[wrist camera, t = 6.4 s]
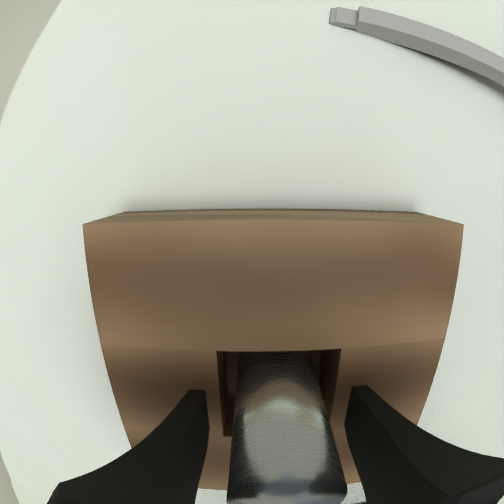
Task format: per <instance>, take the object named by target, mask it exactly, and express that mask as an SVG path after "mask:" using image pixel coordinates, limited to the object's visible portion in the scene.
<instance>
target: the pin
mask: <svg viewBox="0 0 504 504" xmlns="http://www.w3.org/2000/svg"><path fill="white" fill-rule="evenodd" d="M346 494H347V484H346V481H345V477H344V473H343V469H342V465H341V462H340V458H339V454H338V451H337V447H336V443H335V440H334V436H333V433H332V429H331V425H330V422H329V418H328V415H327V411H326V408H325V404H324V401H323V397H322V394H321V390H320V387H319V383H318V380H317V376H316V373H315V370H314V366H313V363H312V359H311V356H310V353H309V350H304V351H240V355H239V364H238V375H237V386H236V397H235V408H234V420H233V431H232V443H231V454H230V465H229V477H228V489H227V504H340V503H341V502H342V501H343V500H344V498H345V497H346Z"/></svg>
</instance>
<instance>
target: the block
mask: <svg viewBox="0 0 504 504" xmlns="http://www.w3.org/2000/svg"><path fill="white" fill-rule="evenodd" d="M463 226H464V224H460V223H457V222H453V221H449V220H445V219H441V218H438V217H434V216H430V215H426V214H422V213H418V212H399V211H373V210H337V209H201V210H165V211H138V212H123V213H120V214H116V215H113V216H109V217H106V218H102V219H99V220H95V221H92V222H89V223H85V224H83V234H84V245H85V254H86V262H87V270H88V277H89V284H90V291H91V297H92V303H93V308H94V314H95V319H96V324H97V329H98V334H99V338H100V343H101V347H102V352H103V356H104V360H105V364H106V368H107V372H108V376H109V379H110V383H111V387H112V390H113V393H114V397H115V400H116V404H117V407H118V410H119V413H120V416H121V419H122V422H123V425H124V428H125V431H126V434H127V437H128V440H129V442H130V445H131V448H133V447H134V446H136V445H137V444H138V443H139V442H141V441H142V440H143V439H144V438H145V437H146V436H148V435H149V434H150V433H151V432H152V431H153V430H154V429H155V428H156V427H157V426H158V425H159V424H160V423H161V422H162V421H163V420H164V419H165V418H166V416H167V415H168V414H169V413H170V412H171V411H172V410H173V409H174V407H175V406H176V405H177V404H178V403H179V401H180V400H181V399H182V397H183V396H184V395H185V393H186V392H187V391H188V390H189V389H193V390H205V391H206V400H207V409H208V417H209V425H210V430H209V440H208V449H207V453H206V457H205V461H204V465H203V469H202V473H201V477H200V481H199V485H198V488H202V489H216V490H227V489H228V477H229V465H230V454H231V443H232V431H233V420H234V408H235V397H236V386H237V375H238V364H239V355H240V351H304V350H309V353H310V356H311V359H312V363H313V366H314V370H315V373H316V376H317V380H318V383H319V387H320V390H321V394H322V397H323V401H324V404H325V408H326V411H327V415H328V418H329V422H330V425H331V429H332V433H333V436H334V440H335V443H336V447H337V451H338V454H339V458H340V462H341V465H342V469H343V473H344V477H345V481H346V484H350V483H356V482H361V480H360V477H359V474H358V471H357V469H356V466H355V463H354V460H353V457H352V455H351V452H350V449H349V446H348V442H347V437H346V432H345V427H344V421H345V417H346V412H347V407H348V403H349V398H350V393H351V388H352V386H361V385H367V386H368V387H370V388H371V389H372V390H373V391H374V392H375V393H377V394H378V395H379V396H380V397H381V398H382V399H383V400H384V401H386V402H387V403H388V404H389V405H390V406H392V407H393V408H394V409H395V410H396V411H398V412H399V413H400V414H401V415H403V416H404V417H405V418H407V419H408V420H410V421H411V422H412V423H414V424H415V425H417V424H418V421H419V418H420V416H421V413H422V410H423V408H424V405H425V402H426V399H427V397H428V394H429V391H430V388H431V385H432V382H433V378H434V375H435V372H436V369H437V365H438V362H439V358H440V355H441V351H442V347H443V344H444V340H445V336H446V332H447V327H448V323H449V319H450V314H451V309H452V304H453V299H454V294H455V288H456V282H457V276H458V269H459V262H460V255H461V246H462V237H463Z"/></svg>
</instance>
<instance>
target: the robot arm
mask: <svg viewBox="0 0 504 504" xmlns="http://www.w3.org/2000/svg"><path fill="white" fill-rule="evenodd" d="M344 427H345V432H346V437H347V442H348V446H349V449H350V452H351V455H352V457H353V460H354V463H355V466H356V469H357V471H358V474H359V477H360V480H361V483H362V486H363V489H364V493H365V497H366V502H367V504H497V502H498V501H499V500H500V499H501V498H502V497H503V495H504V458H498V457H492V456H487V455H482V454H478V453H475V452H471V451H468V450H465V449H462V448H459V447H457V446H454V445H452V444H450V443H447V442H445V441H443V440H441V439H439V438H437V437H435V436H433V435H432V434H430V433H428V432H426V431H425V430H423V429H421V428H420V427H418V426H417V425H415V424H414V423H412V422H411V421H410V420H408V419H407V418H405V417H404V416H403V415H401V414H400V413H399V412H398V411H396V410H395V409H394V408H393V407H392V406H390V405H389V404H388V403H387V402H386V401H384V400H383V399H382V398H381V397H380V396H379V395H378V394H377V393H375V392H374V391H373V390H372V389H371V388H370V387H368V386H367V385H361V386H352V388H351V393H350V398H349V403H348V407H347V412H346V417H345V421H344ZM209 430H210V425H209V417H208V409H207V400H206V391H205V390H193V389H189V390H188V391H187V392H186V393H185V395H184V396H183V397H182V399H181V400H180V401H179V403H178V404H177V405H176V406H175V407H174V409H173V410H172V411H171V412H170V413H169V414H168V415H167V416H166V418H165V419H164V420H163V421H162V422H161V423H160V424H159V425H158V426H157V427H156V428H155V429H154V430H153V431H152V432H151V433H150V434H149V435H148V436H146V437H145V438H144V439H143V440H142V441H141V442H139V443H138V444H137V445H136V446H134V447H133V448H132V449H130V450H129V451H128V452H126V453H125V454H123V455H122V456H120V457H118V458H117V459H115V460H114V461H112V462H110V463H108V464H107V465H105V466H103V467H101V468H98V469H96V470H94V471H92V472H90V473H87V474H85V475H82V476H79V477H77V478H74V479H70V480H67V481H64V482H61V483H59V484H58V486H57V487H56V488H55V490H54V491H53V493H52V495H51V497H50V499H49V501H48V503H47V504H195V499H196V494H197V489H198V485H199V481H200V477H201V473H202V469H203V465H204V461H205V457H206V453H207V449H208V440H209Z"/></svg>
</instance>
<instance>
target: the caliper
mask: <svg viewBox="0 0 504 504" xmlns="http://www.w3.org/2000/svg"><path fill="white" fill-rule="evenodd" d="M329 24H331V25H335V26H340V27H346V28H351V29H356V32H360V33H363V34H366V35H369V36H372V37H375V38H378V39H381V40H384V41H387V42H391V43H394V44H398V45H401V46H405V47H408V48H411V49H414V50H418V51H421V52H424V53H427V54H430V55H433V56H435V57H438V58H441V59H444V60H446V61H449V62H451V63H454V64H457V65H459V66H461V67H464V68H466V69H469V70H471V71H473V72H475V73H478V74H480V75H482V76H484V77H486V78H488V79H490V80H492V81H495V82H497V83H499V84H500V85H502V86H504V58H502V57H501V56H499V55H497V54H495V53H493V52H491V51H489V50H487V49H485V48H483V47H480V46H478V45H476V44H474V43H472V42H470V41H467V40H465V39H463V38H460V37H458V36H456V35H453V34H451V33H448V32H446V31H443V30H440V29H438V28H435V27H432V26H429V25H426V24H423V23H420V22H417V21H414V20H411V19H408V18H404V17H401V16H397V15H394V14H390V13H386V12H382V11H378V10H374V9H370V8H366V7H361V6H360V7H359V9H358V11H355V10H351V9H346V8H340V7H337V8H331V11H330V19H329Z"/></svg>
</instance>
